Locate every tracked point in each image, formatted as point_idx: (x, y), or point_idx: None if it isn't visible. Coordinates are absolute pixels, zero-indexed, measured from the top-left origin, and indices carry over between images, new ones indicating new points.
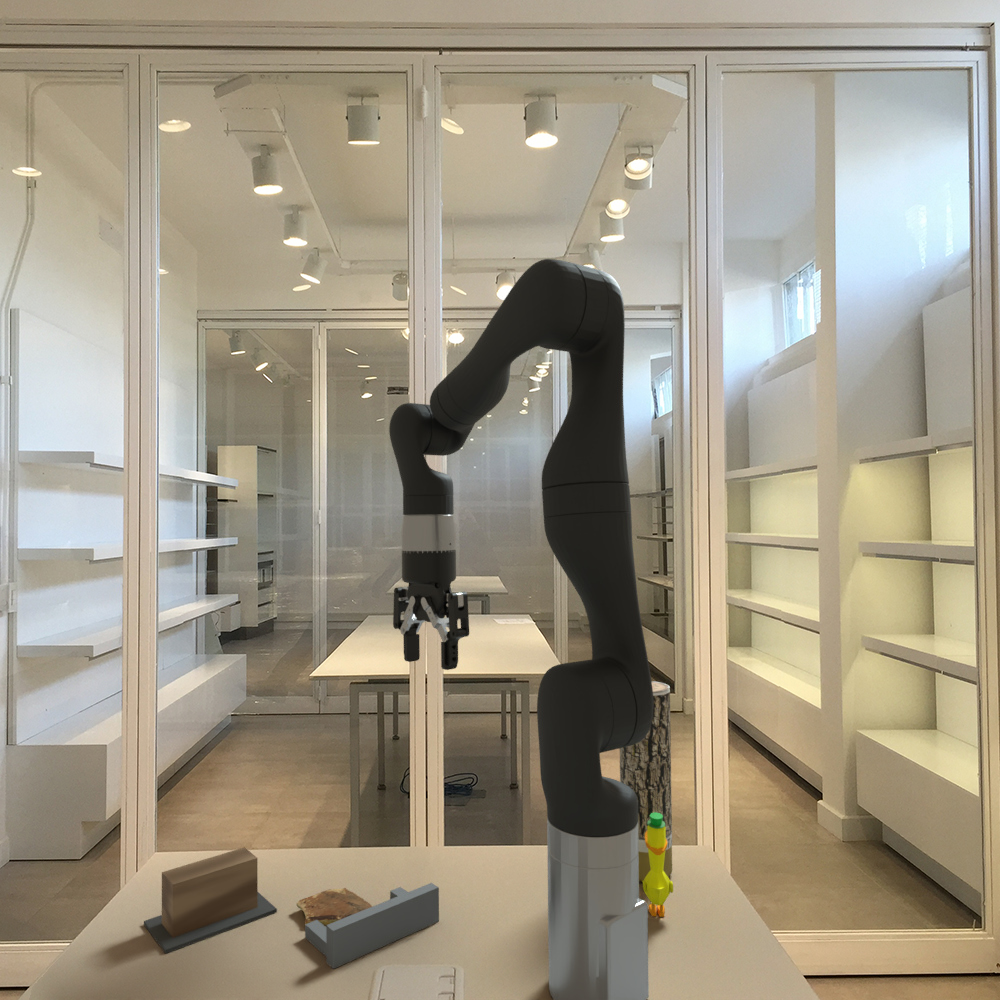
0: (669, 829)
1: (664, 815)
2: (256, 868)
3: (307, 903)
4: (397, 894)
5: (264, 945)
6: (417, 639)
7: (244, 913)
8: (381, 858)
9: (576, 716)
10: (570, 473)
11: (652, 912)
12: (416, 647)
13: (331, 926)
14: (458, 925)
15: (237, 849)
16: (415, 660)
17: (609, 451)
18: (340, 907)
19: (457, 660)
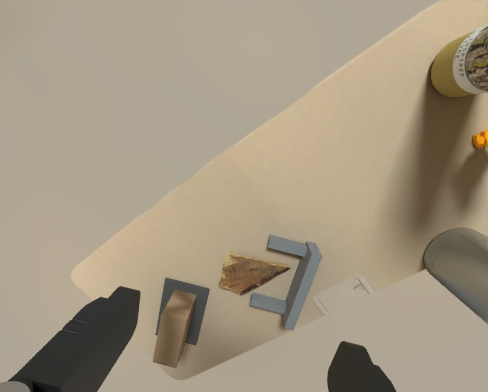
0: None
1: None
2: (188, 315)
3: (227, 284)
4: (276, 248)
5: (235, 314)
6: (82, 367)
7: (197, 303)
8: (207, 192)
9: None
10: None
11: (480, 147)
12: (109, 337)
13: (288, 327)
14: (331, 240)
15: (160, 319)
16: (139, 301)
17: None
18: (250, 276)
19: (390, 386)
